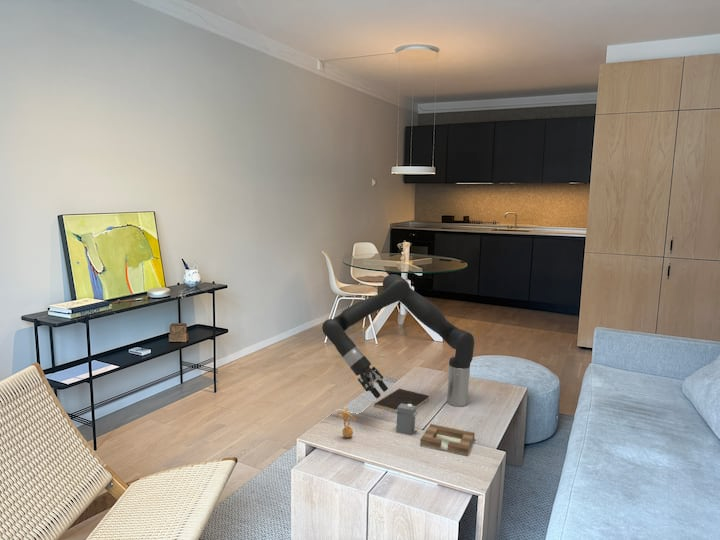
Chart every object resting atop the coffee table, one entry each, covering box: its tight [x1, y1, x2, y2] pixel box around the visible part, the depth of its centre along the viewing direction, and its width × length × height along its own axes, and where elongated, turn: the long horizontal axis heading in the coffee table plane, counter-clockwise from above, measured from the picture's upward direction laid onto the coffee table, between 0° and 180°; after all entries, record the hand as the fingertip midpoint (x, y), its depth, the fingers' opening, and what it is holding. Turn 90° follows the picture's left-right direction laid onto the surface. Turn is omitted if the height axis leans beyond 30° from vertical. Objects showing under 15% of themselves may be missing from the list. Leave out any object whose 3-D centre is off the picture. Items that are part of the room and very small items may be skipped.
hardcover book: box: [373, 388, 430, 413], centre depth 227 cm, size 16×23×2 cm
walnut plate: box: [419, 423, 476, 457], centre depth 190 cm, size 15×17×3 cm
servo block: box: [394, 403, 419, 436], centre depth 197 cm, size 4×8×11 cm, turn 68°
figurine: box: [336, 407, 357, 438], centre depth 189 cm, size 8×6×12 cm
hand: (382, 393), depth 200 cm, fingers open, 8 cm apart
